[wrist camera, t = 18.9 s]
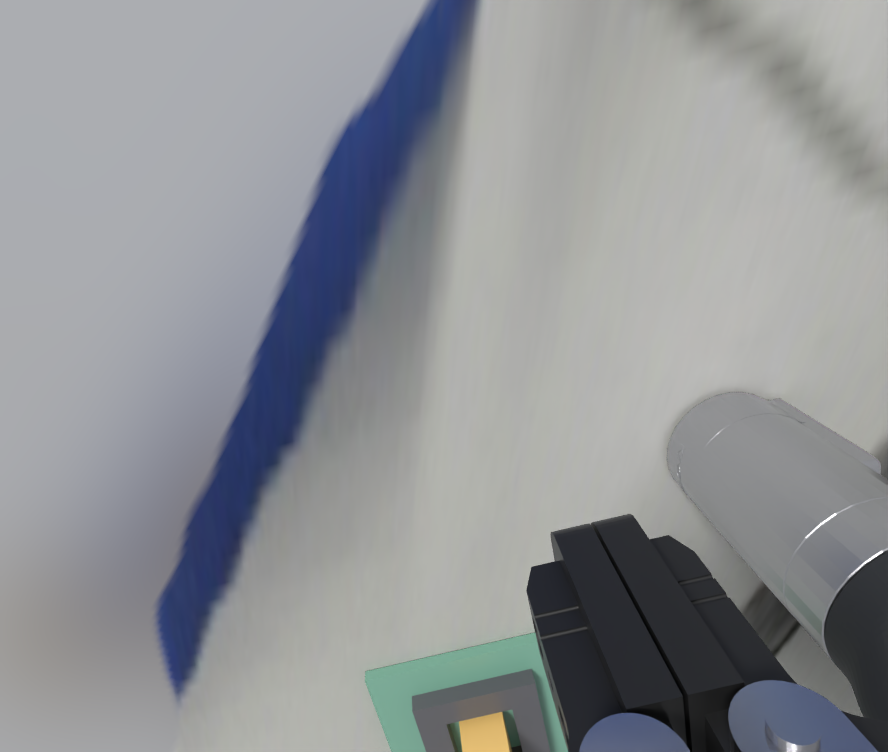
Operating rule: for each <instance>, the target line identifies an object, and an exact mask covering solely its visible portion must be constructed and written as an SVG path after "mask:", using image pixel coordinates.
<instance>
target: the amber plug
mask: <svg viewBox="0 0 888 752" xmlns="http://www.w3.org/2000/svg"><path fill="white" fill-rule="evenodd" d="M459 726H460V735H461V744H462V752H512V749H511V743H510V739H509V735H508V731H507V727H506V723H505V720H504V716H503V712H499V713H494V714H490V715H486V716H481V717H477V718H472V719H468V720H464V721H459Z"/></svg>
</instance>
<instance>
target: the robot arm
mask: <svg viewBox="0 0 888 752" xmlns="http://www.w3.org/2000/svg"><path fill="white" fill-rule="evenodd" d="M667 462H668V467H669V470H670V472H671V474H672V476H673V478H674V480H675V481H676V482H677V483H678V484H679V485H680V486H681V488H682V489H683V491H684V492H685V493H686V495H688V496H689V497H690V498H691V499H692V500H693V502H694V503H695V504H696V505H697V506H698V507H699V509H700V510H701V511H702V512H703V513H704V515H705V516H706V517H707V518H708V519H709V520H710V521H711V523H712V524H713V525H714V526H715V527H716V528H717V530H718V531H719V532H720V533H721V534H722V535H723V536H724V538H725V539H726V540H727V541H728V542H729V543H730V544H731V546H732V547H733V548H734V549H735V550H736V551H737V552H738V554H739V555H740V556H741V557H742V558H743V559H744V560H745V562H746V563H747V564H748V565H749V566H750V567H751V568H752V570H753V571H754V572H755V573H756V574H757V575H758V576H759V578H760V579H761V580H762V581H763V582H764V583H765V585H766V586H767V587H768V588H769V589H770V590H771V591H772V593H773V594H774V595H775V596H776V597H777V598H778V599H779V601H780V602H781V603H782V604H783V605H784V606H785V607H786V609H787V610H788V611H789V612H790V613H791V614H792V615H793V616H794V618H795V619H796V620H797V621H798V622H799V623H800V624H801V626H802V627H803V628H804V629H805V630H806V631H807V632H808V634H809V635H810V636H811V637H812V638H813V639H814V640H815V642H816V643H817V644H818V645H819V646H820V647H821V648H822V650H823V651H824V652H825V653H826V654H827V655H828V656H829V658H830V659H831V660H832V661H833V662H834V663H835V664H836V665H837V667H838V668H839V669H840V670H841V671H842V672H843V674H844V675H845V676H846V677H847V679H848V680H849V682H850V684H851V685H852V688H853V691H854V693H855V696H856V699H857V702H858V705H859V707H860V710H861V712H862V714H863V716H864V717H860V716H856V715H852V714H848V713H846V712H843V711H840V710H839V709H838V708H837V707H836V706H835V705H834V704H833V703H831V702H830V701H829V700H827V699H826V698H825V697H823V696H821V695H820V694H818V693H816V692H814V691H812V690H810V689H808V688H806V687H803V686H800V685H798V684H797V683H796V682H795V681H794V680H793V679H792V678H791V677H790V676H789V675H788V674H787V672H786V671H785V670H784V668H783V667H782V666H781V665H780V663H779V662H778V661H777V659H776V658H775V657H774V655H773V654H772V653H771V651H770V650H769V649H768V648H767V646H766V645H765V644H764V642H763V641H762V640H761V638H760V637H759V636H758V634H757V633H756V632H755V630H754V629H753V628H752V627H751V625H750V624H749V623H748V621H747V620H746V619H745V617H744V616H743V615H742V613H741V612H740V611H739V610H738V608H737V607H736V606H735V604H734V603H733V602H732V600H731V599H730V598H727V596H726V592H725V591H724V590H723V589H722V587H721V586H720V585H719V583H718V582H717V581H716V579H715V578H714V579H713V578H712V575H711V573H710V572H709V570H708V569H707V568H706V566H705V565H704V564H703V562H702V561H701V560H700V558H699V557H698V556H697V554H696V553H695V552H694V551H693V550H691V549H689V548H688V547H686V546H685V545H683V544H682V543H680V542H678V541H677V540H675V539H674V538H672V537H671V536H669V535H667V536H663V537H659V538H654V539H650V540H649V538H648V537H647V535H646V534H645V532H644V531H643V529H642V528H641V526H640V525H639V523H638V522H637V520H636V519H635V518H634V516H633V515H631V514H627V515H623V516H618V517H614V518H610V519H605V520H601V521H597V522H592V523H591V525H590V524H584V525H580V526H576V527H571V528H567V529H563V530H558V531H554V532H551V542H552V548H553V553H554V559H555V562H551V563H547V564H542V565H538V566H534V567H531V572H530V577H529V581H528V586H527V595H528V600H529V605H530V610H531V614H532V619H533V624H534V629H535V633H536V638H537V643H538V648H539V653H540V656H541V659H542V663H543V666H544V670H545V673H546V677H547V680H548V684H549V687H550V691H551V694H552V698H553V701H554V704H555V708H556V711H557V715H558V718H559V722H560V725H561V729H562V732H563V736H564V739H565V743H566V746H567V750H568V752H888V479H886V478H885V477H883V476H882V475H880V472H881V464H880V461H879V460H878V459H877V458H876V457H875V456H873V455H871V454H870V453H868V452H867V451H865V450H863V449H862V448H860V447H858V446H857V445H855V444H854V443H852V442H850V441H849V440H847V439H845V438H844V437H842V436H840V435H839V434H837V433H836V432H834V431H832V430H831V429H829V428H827V427H826V426H824V425H823V424H821V423H819V422H818V421H816V420H814V419H813V418H811V417H810V416H808V415H806V414H805V413H803V412H801V411H800V410H798V409H797V408H795V407H793V406H792V405H790V404H788V403H787V402H785V401H784V400H782V399H780V398H778V399H774V400H765V399H763V398H760V397H758V396H756V395H754V394H749V393H744V392H729V393H725V394H720V395H716V396H714V397H711V398H709V399H707V400H704V401H703V402H701V403H700V404H698V405H697V406H695V407H694V408H692V409H691V410H690V411H689V412H688V413H687V414H686V415H685V416H684V417H683V418H682V419H681V421H680V422H679V423H678V425H677V426H676V428H675V430H674V431H673V433H672V435H671V437H670V441H669V445H668V448H667Z"/></svg>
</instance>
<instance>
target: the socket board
mask: <svg viewBox="0 0 888 752" xmlns="http://www.w3.org/2000/svg"><path fill="white" fill-rule="evenodd" d="M365 683H366V685H367V688H368V690H369V693H370V696H371V698H372V701H373V704H374V706H375V709H376V712H377V714H378V717H379V720H380V722H381V725H382V728H383V730H384V733H385V736H386V738H387V741H388V743H389V746H390V749H391V751H392V752H462V744H461V735H460V726H459V721H464V720H468V719H472V718H477V717H481V716H486V715H490V714H494V713H499V712H503V716H504V720H505V723H506V727H507V731H508V735H509V739H510V743H511V749H512V752H568V750H567V746H566V743H565V739H564V736H563V732H562V729H561V725H560V722H559V718H558V715H557V711H556V708H555V704H554V701H553V698H552V694H551V691H550V687H549V684H548V680H547V677H546V673H545V670H544V666H543V663H542V659H541V656H540V653H539V648H538V643H537V638H536V633H531V634H527V635H522V636H518V637H514V638H509V639H505V640H500V641H496V642H492V643H487V644H483V645H479V646H474V647H470V648H466V649H461V650H457V651H453V652H448V653H444V654H440V655H435V656H431V657H426V658H422V659H418V660H413V661H409V662H405V663H400V664H396V665H392V666H387V667H383V668H379V669H374V670H370V671H366V673H365Z"/></svg>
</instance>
